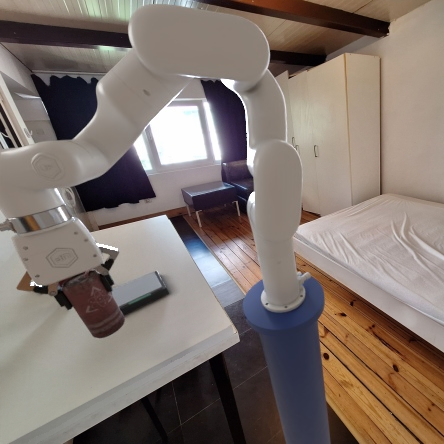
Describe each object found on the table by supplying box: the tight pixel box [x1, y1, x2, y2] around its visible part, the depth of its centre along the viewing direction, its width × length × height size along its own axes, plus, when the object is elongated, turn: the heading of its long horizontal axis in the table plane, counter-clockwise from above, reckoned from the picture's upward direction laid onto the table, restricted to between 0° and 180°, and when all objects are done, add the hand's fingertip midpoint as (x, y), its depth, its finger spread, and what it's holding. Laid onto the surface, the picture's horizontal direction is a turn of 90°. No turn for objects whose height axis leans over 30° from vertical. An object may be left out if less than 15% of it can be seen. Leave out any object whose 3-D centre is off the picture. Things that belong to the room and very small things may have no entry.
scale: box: [111, 270, 170, 316], centre depth 77 cm, size 15×15×3 cm
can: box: [62, 269, 126, 339], centre depth 49 cm, size 6×6×14 cm
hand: (91, 296), depth 49 cm, fingers closed on can, 6 cm apart
